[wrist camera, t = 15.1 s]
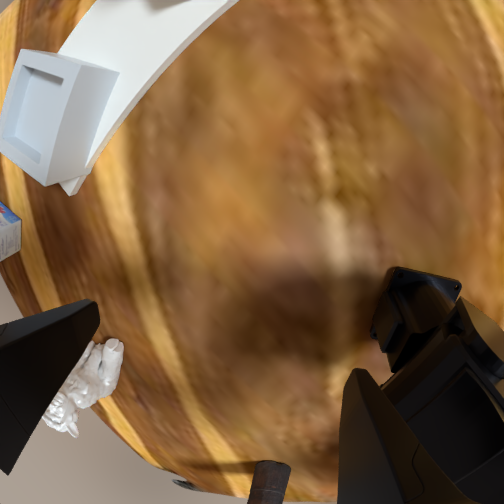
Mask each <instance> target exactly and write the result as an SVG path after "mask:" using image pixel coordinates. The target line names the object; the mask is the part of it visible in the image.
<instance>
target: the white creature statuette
mask: <svg viewBox="0 0 504 504" xmlns="http://www.w3.org/2000/svg"><path fill="white" fill-rule="evenodd" d="M123 351H124V345H123V343H122V342H119V340H118V339H109V340H107V341H106V343H105V345H104V344H102V345H101V344H100V343H99V344H97V345H96V344H95V342H94V341H91V342H90V343H89V345H88V346H87V348H86V350H85V352H84V353H83V355H82V357H81V358H80V360H79V361H78V363H77V364H76V366H75V367H74V369H73V370H72V371H71V373H70V374H69V376H68V377H67V379H66V380H65V382H64V383H63V385H62V386H61V388H60V389H59V391H58V392H57V394H56V396H55V397H54V399H53V400H52V402H51V403H50V405H49V407H48V408H47V410H46V411H45V413H44V415H43V416H42V418H43V420H44V421H45V422H46V424H47V425H48V426H50V427H52V428H55V429H56V430H57V431H60V432H65V431H69V433H70V434H71V435H72V436H73V437H75V438H78V436H79V431H78V428H77V426H76V422H77V420H78V415H79V410H78V408H79V407H80V408H82V409H85V408H86V407H90V406H91V405H92V404H94V403H96V400H99V399H100V398H102V397H103V398H105V397H107V396H108V395H110V394H112V392H113V390H114V389H116V385H117V382H118V380H119V375H120V373H119V372H120V368H121V364H122V362H123Z"/></svg>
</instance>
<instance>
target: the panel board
mask: <svg viewBox="0 0 504 504" xmlns="http://www.w3.org/2000/svg"><path fill="white" fill-rule="evenodd" d="M238 1H239V0H97V1H96V2H95V3H94V4H93V5H92V7H91V8H90V9H89V10H88V11H87V13H86V14H85V15H84V17H83V18H82V19H81V20H80V22H79V23H78V24H77V26H76V27H75V29H74V30H73V31H72V33H71V34H70V36H69V37H68V38H67V40H66V41H65V43H64V44H63V46H62V47H61V49H60V50H59V52H58V54H61V55H65V56H69V57H72V58H76V59H79V60H83V61H86V62H89V63H93V64H96V65H99V66H102V67H105V68H108V69H111V70H114V71H117V72H120V74H119V76H118V79H117V81H116V83H115V85H114V88H113V90H112V93H111V95H110V97H109V100H108V102H107V105H106V107H105V110H104V113H103V115H102V118H101V121H100V123H99V126H98V129H97V132H96V135H95V138H94V141H93V144H92V147H91V150H90V153H89V156H88V160H87V163H86V167H85V169H86V168H90V167H93V165H94V163H95V162H96V160H97V159H98V157H99V156H100V154H101V153H102V151H103V149H104V148H105V146H106V145H107V144H108V142H109V141H110V139H111V138H112V136H113V135H114V133H115V132H116V131H117V129H118V128H119V126H120V125H121V124H122V122H123V121H124V120H125V118H126V117H127V116H128V114H129V113H130V112H131V110H132V109H133V108H134V106H135V105H136V104H137V103H138V101H139V100H140V99H141V98H142V96H143V95H144V94H145V93H146V92H147V90H148V89H149V88H150V87H151V86H152V84H153V83H154V82H155V81H156V80H157V79H158V77H159V76H160V75H161V74H162V73H163V72H164V71H165V70H166V69H167V67H168V66H169V65H170V64H171V63H172V62H173V61H174V60H175V59H176V58H177V57H178V56H179V55H180V54H181V53H182V52H183V51H184V50H185V48H186V47H187V46H188V45H189V44H190V43H192V42H193V41H194V40H195V39H196V38H197V37H198V36H199V35H200V34H201V33H202V32H203V31H204V30H205V29H206V28H207V27H208V26H209V25H211V24H212V23H213V22H214V21H215V20H216V19H217V18H218V17H220V16H221V15H222V14H223V13H224V12H225V11H227V10H228V9H229V8H230V7H231V6H233V5H234V4H235V3H236V2H238ZM87 175H88V174H86V175H83V176H79V177H76V178H72V179H69V180H65V181H62V182H59V184H60V185H61V186H62V188H63V189H64V190H65V192H66V193H67V194H68V195H69V196H72V195H75V194H77V192H78V190H79V188H80V187H81V185H82V183H83V181H84V180H85V178H86V176H87Z"/></svg>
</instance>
